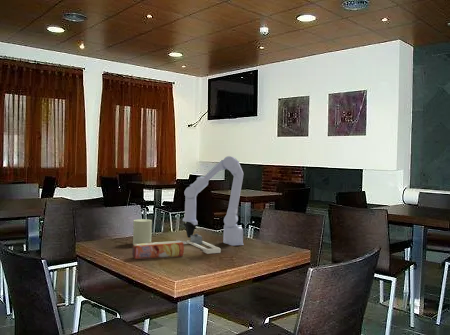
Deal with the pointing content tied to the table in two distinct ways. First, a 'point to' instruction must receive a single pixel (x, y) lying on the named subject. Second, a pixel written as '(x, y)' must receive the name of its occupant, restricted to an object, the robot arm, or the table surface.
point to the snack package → (158, 250)
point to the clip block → (196, 239)
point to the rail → (205, 250)
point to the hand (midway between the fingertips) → (189, 237)
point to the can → (142, 231)
